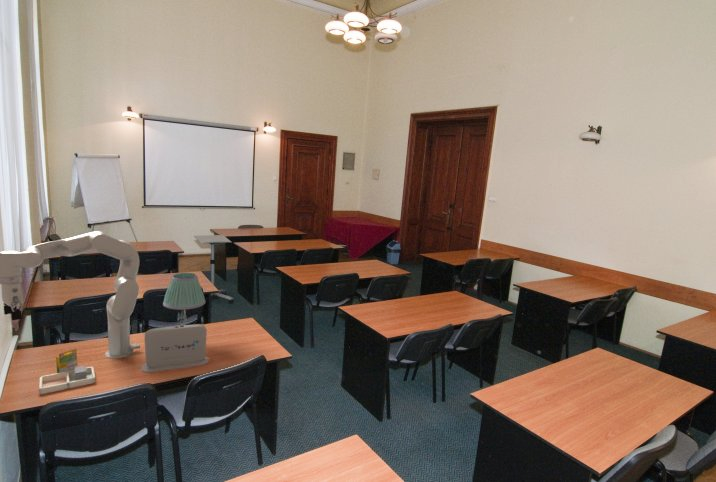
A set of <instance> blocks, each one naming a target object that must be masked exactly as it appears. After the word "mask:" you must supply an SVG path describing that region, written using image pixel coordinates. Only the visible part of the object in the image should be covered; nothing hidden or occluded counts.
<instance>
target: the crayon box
mask: <svg viewBox="0 0 716 482" xmlns="http://www.w3.org/2000/svg"><path fill="white" fill-rule="evenodd" d="M77 352H78V351H77V348H75V349H72V350H71V349H70V350H67V351H64V352H61V353H59V354H58V355H56V356H55V363H56V373H61V372H66V371H71V370H75V367H78V358H77V357H78V355H77Z"/></svg>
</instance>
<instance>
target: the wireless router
mask: <svg viewBox="0 0 716 482" xmlns="http://www.w3.org/2000/svg"><path fill="white" fill-rule="evenodd" d="M207 331H208V330H207V327H206V326H205V325H204V324H201V323H195V324H186V325H184V324H182V325H175V326H166V327H165V326H164V327H157V328H156V327H154V328H150V329H148V330H147V331H146V332H144V350H145V351H144V355H145V363H144V364H143V365H141V367H140V371H142V372H143V373H157V372H158V373H159V372H162V371H164V372H165V371H171V370H177V369H184V368H191V367H193V368H194V367H199V366H204V365H206V364H207V363H209V361H210V359H209V356H206V349H207V347H206V345H207Z"/></svg>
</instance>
